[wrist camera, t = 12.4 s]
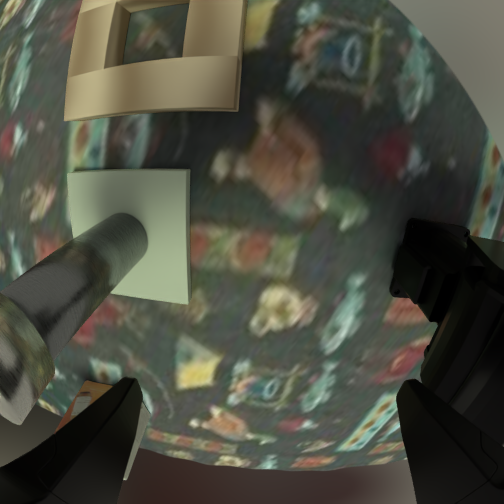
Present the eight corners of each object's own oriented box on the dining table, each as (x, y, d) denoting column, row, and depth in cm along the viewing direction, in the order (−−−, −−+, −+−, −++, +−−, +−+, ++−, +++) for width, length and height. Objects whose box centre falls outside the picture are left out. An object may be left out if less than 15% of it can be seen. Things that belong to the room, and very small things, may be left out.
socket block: (251, -31, 12) (248, -48, 10) (238, 111, 17) (233, 107, 14) (103, -8, 12) (88, -18, 10) (83, 120, 17) (64, 121, 15)
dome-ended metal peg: (128, 194, 18) (-55, 312, 4) (165, 250, 20) (36, 425, 6) (88, 228, 19) (-59, 343, 6) (122, 277, 21) (7, 423, 7)
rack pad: (190, 169, 18) (186, 170, 17) (191, 297, 22) (188, 304, 21) (74, 171, 19) (67, 173, 18) (88, 282, 22) (82, 288, 22)
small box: (135, 387, 28) (103, 460, 18) (152, 415, 30) (128, 482, 20) (84, 378, 28) (48, 439, 19) (102, 406, 31) (74, 463, 21)
